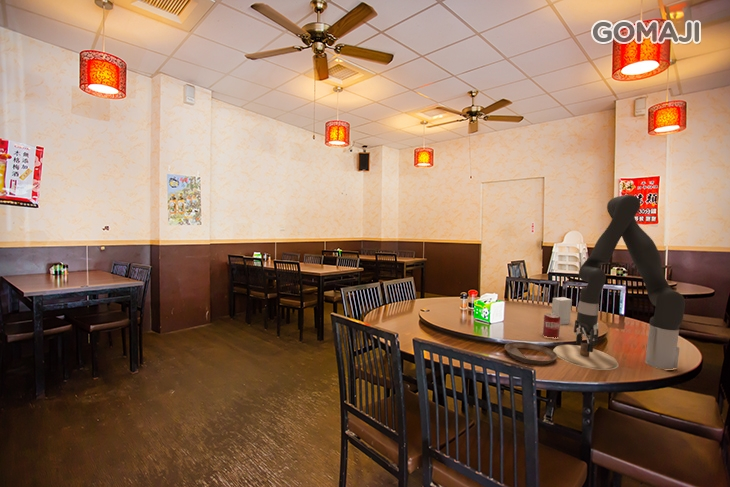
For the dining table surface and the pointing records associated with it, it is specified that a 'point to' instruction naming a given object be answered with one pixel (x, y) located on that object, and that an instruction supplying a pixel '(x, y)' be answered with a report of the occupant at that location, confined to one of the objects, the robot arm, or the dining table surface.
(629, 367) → the dining table surface
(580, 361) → the lid
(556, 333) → the soda can
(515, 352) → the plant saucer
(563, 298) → the skincare box
